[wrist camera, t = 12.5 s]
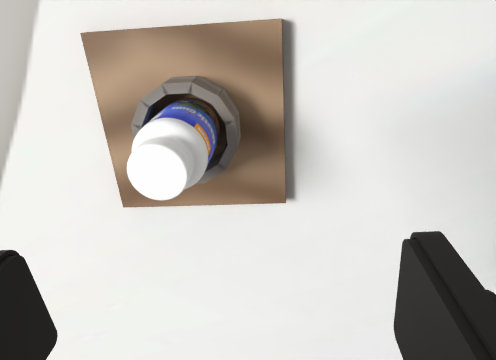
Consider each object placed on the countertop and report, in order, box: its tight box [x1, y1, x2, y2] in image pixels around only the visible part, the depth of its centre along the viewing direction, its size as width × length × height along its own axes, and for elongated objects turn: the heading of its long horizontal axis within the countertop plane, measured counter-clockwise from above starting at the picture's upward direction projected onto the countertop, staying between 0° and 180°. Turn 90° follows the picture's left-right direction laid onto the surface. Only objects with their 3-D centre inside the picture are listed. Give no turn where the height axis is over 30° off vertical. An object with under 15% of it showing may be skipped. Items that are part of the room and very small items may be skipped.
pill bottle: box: [127, 99, 220, 200], centre depth 27 cm, size 5×5×10 cm
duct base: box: [81, 19, 286, 207], centre depth 31 cm, size 16×16×4 cm
